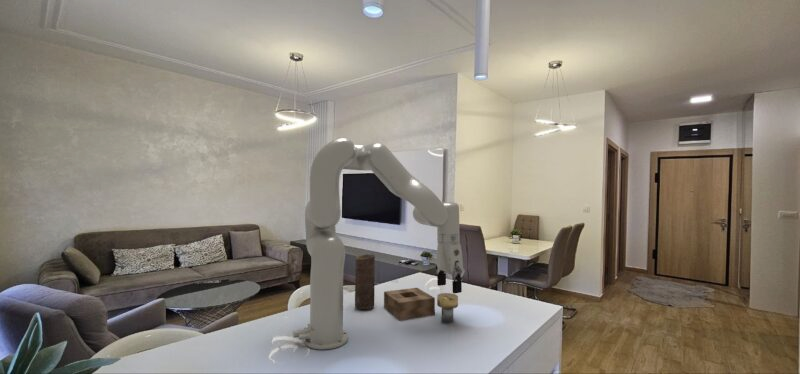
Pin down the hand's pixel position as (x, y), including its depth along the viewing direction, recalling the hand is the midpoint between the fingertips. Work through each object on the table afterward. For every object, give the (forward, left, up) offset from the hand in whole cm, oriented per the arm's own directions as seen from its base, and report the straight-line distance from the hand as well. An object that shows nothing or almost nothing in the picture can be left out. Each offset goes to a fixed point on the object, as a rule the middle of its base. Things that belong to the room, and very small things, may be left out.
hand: (449, 288), depth 119 cm
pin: (-1, 0, -11) cm, 11 cm away
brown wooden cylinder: (-23, +23, -11) cm, 34 cm away
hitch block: (-9, +14, -11) cm, 20 cm away
